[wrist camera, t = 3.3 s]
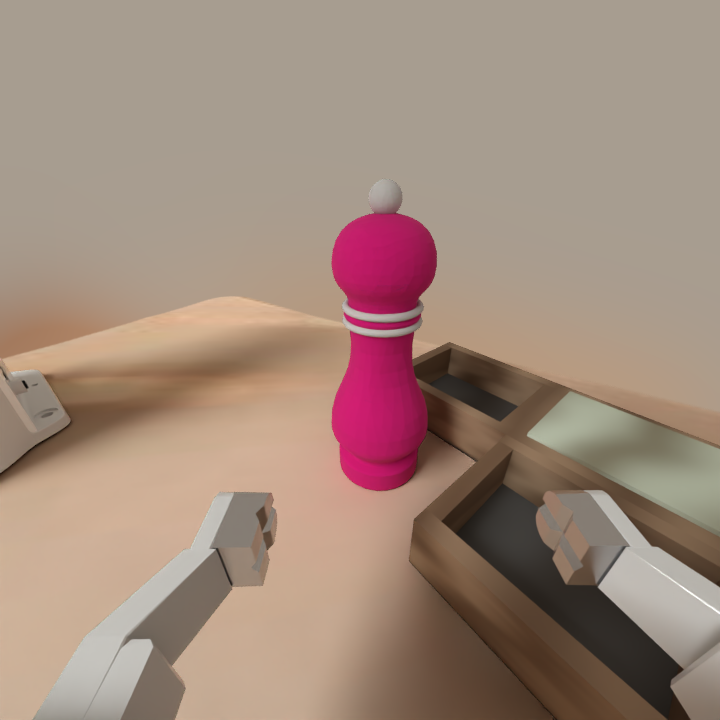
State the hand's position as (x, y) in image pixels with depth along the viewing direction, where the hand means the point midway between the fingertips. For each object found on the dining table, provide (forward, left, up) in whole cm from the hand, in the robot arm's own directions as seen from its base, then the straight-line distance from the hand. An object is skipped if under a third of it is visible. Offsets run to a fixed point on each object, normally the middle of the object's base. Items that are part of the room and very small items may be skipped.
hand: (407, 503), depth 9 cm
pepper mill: (-9, +8, -11) cm, 17 cm away
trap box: (-2, +14, -11) cm, 18 cm away
